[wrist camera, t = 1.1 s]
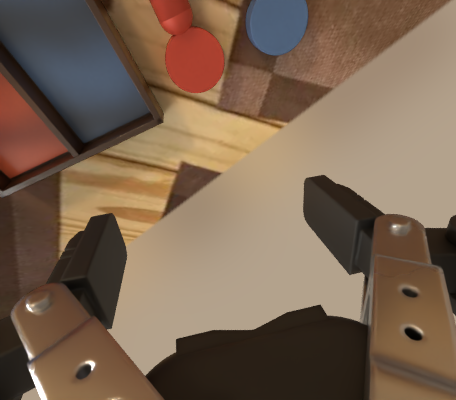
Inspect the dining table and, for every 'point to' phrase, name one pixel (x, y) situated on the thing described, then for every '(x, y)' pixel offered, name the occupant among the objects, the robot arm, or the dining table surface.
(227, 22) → the dining table surface
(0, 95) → the sorting tray
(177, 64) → the red disc-ended rod
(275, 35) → the blue round-ended rod
